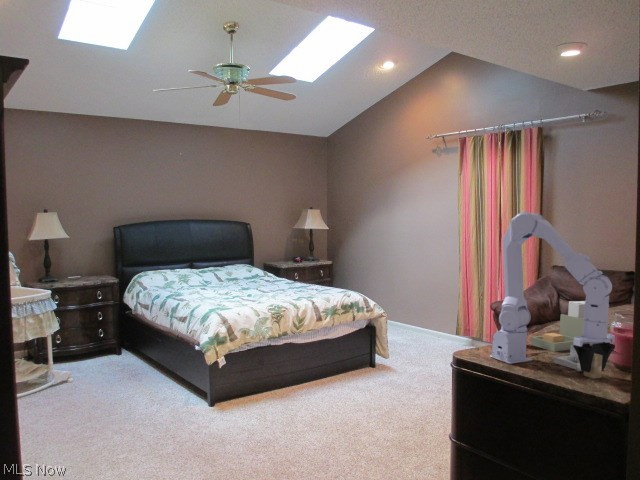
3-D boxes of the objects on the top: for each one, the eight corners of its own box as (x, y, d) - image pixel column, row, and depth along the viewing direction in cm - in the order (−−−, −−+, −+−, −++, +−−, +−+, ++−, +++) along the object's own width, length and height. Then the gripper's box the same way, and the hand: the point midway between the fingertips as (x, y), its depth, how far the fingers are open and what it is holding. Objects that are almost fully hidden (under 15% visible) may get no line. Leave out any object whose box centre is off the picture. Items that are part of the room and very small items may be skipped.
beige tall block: (593, 378, 132) (595, 356, 132) (583, 375, 135) (584, 353, 135) (600, 377, 134) (602, 355, 133) (590, 374, 136) (592, 352, 136)
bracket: (577, 371, 138) (578, 353, 138) (553, 363, 145) (554, 347, 145) (596, 368, 142) (597, 351, 142) (572, 361, 149) (573, 344, 148)
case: (554, 352, 158) (555, 321, 157) (530, 345, 166) (532, 316, 165) (583, 349, 164) (585, 319, 164) (560, 342, 172) (561, 314, 172)
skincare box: (587, 342, 174) (589, 300, 174) (599, 346, 168) (602, 303, 168) (565, 342, 173) (567, 300, 172) (576, 346, 167) (579, 303, 166)
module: (552, 348, 161) (553, 336, 161) (542, 345, 165) (542, 333, 164) (562, 347, 163) (563, 335, 163) (552, 344, 167) (553, 332, 167)
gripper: (592, 325, 127) (589, 377, 127) (627, 321, 133) (623, 371, 134) (567, 319, 133) (564, 369, 134) (602, 316, 140) (598, 364, 140)
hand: (592, 370), depth 134 cm, fingers open, 5 cm apart
